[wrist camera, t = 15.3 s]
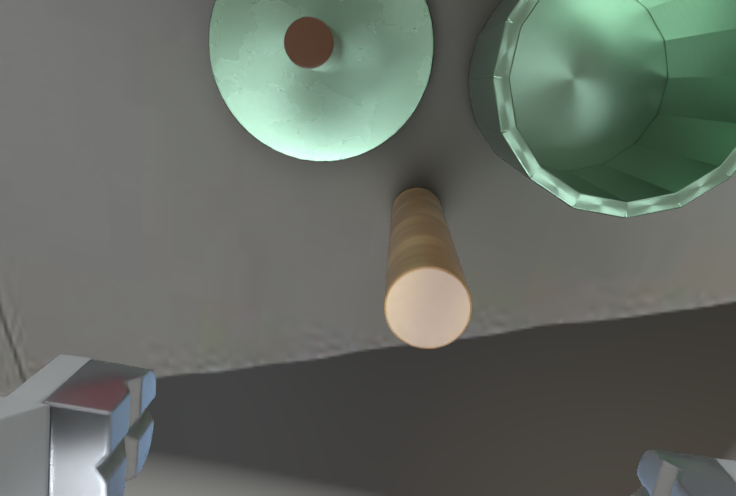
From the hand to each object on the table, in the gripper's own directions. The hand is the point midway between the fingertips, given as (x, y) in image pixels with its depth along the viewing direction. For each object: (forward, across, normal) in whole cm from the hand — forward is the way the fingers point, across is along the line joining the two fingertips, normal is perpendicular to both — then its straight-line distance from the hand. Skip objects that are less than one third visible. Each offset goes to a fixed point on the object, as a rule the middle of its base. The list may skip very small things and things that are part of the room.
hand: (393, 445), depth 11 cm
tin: (+28, -9, -7) cm, 30 cm away
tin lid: (+28, +5, -7) cm, 29 cm away
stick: (+28, -1, +2) cm, 28 cm away
